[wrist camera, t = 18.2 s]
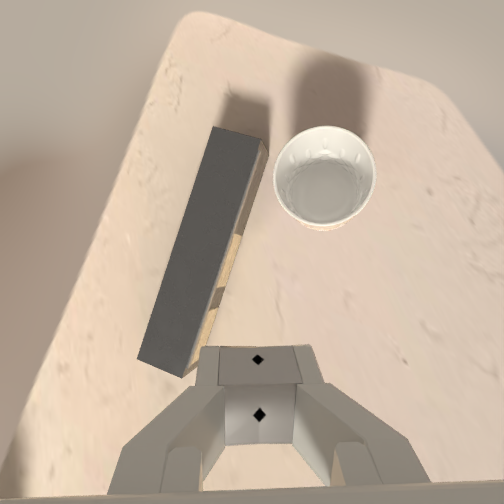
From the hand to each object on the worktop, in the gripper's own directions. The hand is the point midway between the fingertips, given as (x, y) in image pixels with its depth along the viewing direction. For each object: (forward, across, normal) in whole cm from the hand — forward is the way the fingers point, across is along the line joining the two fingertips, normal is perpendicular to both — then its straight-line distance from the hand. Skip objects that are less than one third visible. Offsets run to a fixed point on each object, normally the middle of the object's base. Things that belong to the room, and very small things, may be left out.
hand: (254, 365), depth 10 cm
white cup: (+29, -9, +2) cm, 30 cm away
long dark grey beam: (+30, +3, +8) cm, 31 cm away
